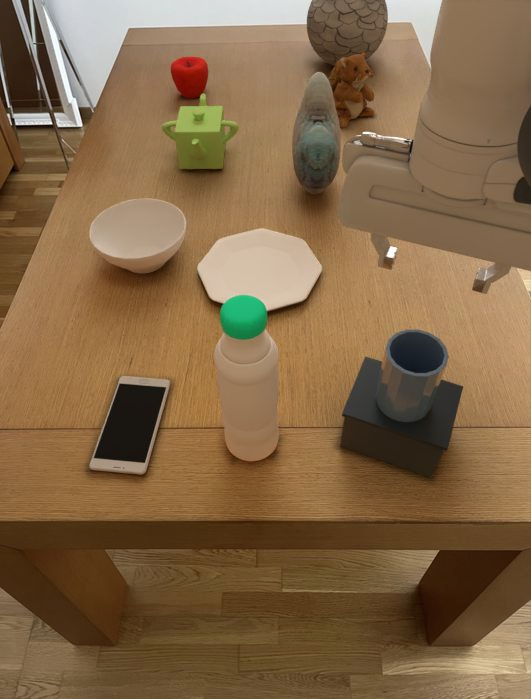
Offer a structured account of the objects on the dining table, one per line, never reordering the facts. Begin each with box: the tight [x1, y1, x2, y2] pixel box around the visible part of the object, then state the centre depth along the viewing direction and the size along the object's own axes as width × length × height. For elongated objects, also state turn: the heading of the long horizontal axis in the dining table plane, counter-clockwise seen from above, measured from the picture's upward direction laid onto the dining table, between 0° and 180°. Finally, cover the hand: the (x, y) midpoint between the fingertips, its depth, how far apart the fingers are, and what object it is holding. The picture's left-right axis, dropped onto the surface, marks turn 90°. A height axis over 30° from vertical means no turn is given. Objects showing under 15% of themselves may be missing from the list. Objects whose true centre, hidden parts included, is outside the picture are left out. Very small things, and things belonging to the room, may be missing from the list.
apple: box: [170, 56, 209, 99], centre depth 134 cm, size 9×9×8 cm
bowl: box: [88, 198, 187, 274], centre depth 96 cm, size 16×16×7 cm
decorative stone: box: [291, 71, 342, 195], centre depth 104 cm, size 21×9×20 cm, turn 177°
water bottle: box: [213, 295, 280, 462], centre depth 65 cm, size 7×7×25 cm
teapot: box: [161, 93, 240, 170], centre depth 114 cm, size 15×13×11 cm
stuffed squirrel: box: [328, 52, 376, 129], centre depth 125 cm, size 10×14×13 cm
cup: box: [375, 328, 450, 422], centre depth 65 cm, size 7×7×9 cm
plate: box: [196, 227, 323, 313], centre depth 95 cm, size 20×20×2 cm
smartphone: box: [88, 375, 171, 476], centre depth 76 cm, size 8×1×15 cm
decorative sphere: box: [306, 0, 389, 67], centre depth 139 cm, size 20×20×20 cm
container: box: [339, 356, 464, 479], centre depth 72 cm, size 13×10×8 cm
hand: (432, 276), depth 57 cm, fingers open, 8 cm apart
